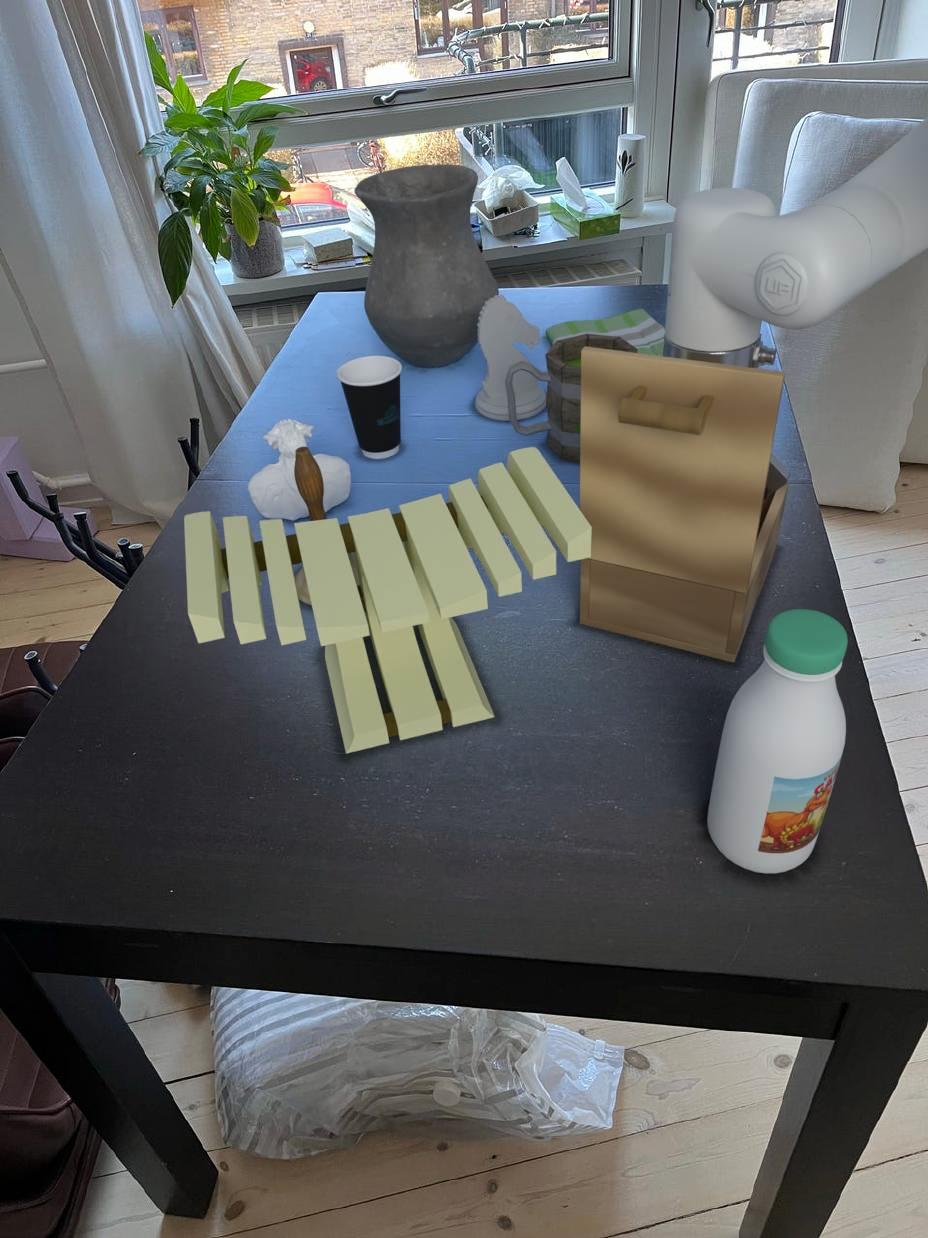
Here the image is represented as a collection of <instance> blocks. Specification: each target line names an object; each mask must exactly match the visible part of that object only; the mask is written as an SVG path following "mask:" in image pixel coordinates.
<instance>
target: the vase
mask: <svg viewBox="0 0 928 1238" xmlns="http://www.w3.org/2000/svg"><path fill="white" fill-rule="evenodd" d="M478 183H479V176H478V173H477V172H476V171H475V169H473V168H470V167H468V166H465V165H460V164H452V163H445V164H444V163H443V164H422V165H421V164H420V165H410V166H402V167H399V168H395V169H389V170H385V171H381V172H378V173H375V174H372V175H369V176H367V177H365V178H363V179H362V180H360V181H359V182H358V183H357V185H356V186H355V188H354V194H355V196H356V197H357V198H358V200H360V201H361V203H362V204H363V205H364V206H365V207H366V209H367V210H368V211H369V213H370V215H371V216H372V219H373V223H374V243H373V250H372V251H373V252H372V257H371V263H370V267H369V271H368V276H367V281H366V286H365V292H364V300H363V306H364V312H365V314H366V317H367V319H368V320H367V321H368V322H369V324H370V326H371V328H372V330H374V332H375V334H376V335H377V337H378V338H379V339H380V340H381V341H382V343H383V344H384V345H385V347H387V349H388V350H389V351H391V352H392V353H393V354H394V355H395V356H397V357H398V358H400V359H402V360H403V361H405V362H406V363H408V364H411V365H413V366H416V367H419V368H420V367H421V368H440V367H446V366H447V365H452V364H454V363H456V362H458V361H460V360H461V359H463V357H465V356H466V355H467V354H468V353H470V352H471V351H472V349H474V348H475V347H476V345H477V344H478V343H479V341H478V335H477V334H478V331H477V330H478V326H477V324H478V322H479V320H478V318H479V316H480V311H481V310H482V307H483V306H484V305H485V301H488V300H489V299H490V298H494V296H495V295H498V296H500V291H499V284H498V281H497V279H495V276H493V274H492V272H491V270H490V268H489V265H488V263H487V261H486V260H485V257H484V255H483V254H482V252H481V250H480V247H479V245H478V242H477V240H476V238H475V235H474V232H473V228H472V222H471V208H472V205H473V199H474V195H475V193H476V189H477V186H478Z"/></svg>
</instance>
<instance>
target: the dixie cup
mask: <svg viewBox="0 0 928 1238" xmlns="http://www.w3.org/2000/svg"><path fill="white" fill-rule="evenodd" d="M402 370H403V365H402V363H401V362H400V361H399V360H397V359H396V358H393V357H392V356H391V357H390V356H385V355H368V356H366V355H365V356H361V357H357V358H353V359H351V360H348V361H346V362H344V363H343V364H341V365H340V366H339V367H338V369H337V370H336V377H337V379H338V380H339V381H340V384H341V387H342V391H343V395H344V397H345V401H346V405H347V408H348V413H349V415H350V419H351V423H352V426H353V430H354V433H355V436H356V441H357V443H358V447H359V448H360V449H361V452H362V454H363V455H364V456H365V457H366V458H369V459H372V460H381V459H388V458H390V457H392V456H394V455H396V454H397V453H398V452H399V450H400V444H401V442H402V438H401V437H402V433H401V432H402V431H401V429H402V427H401V415H402V414H401V373H402Z"/></svg>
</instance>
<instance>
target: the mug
mask: <svg viewBox="0 0 928 1238" xmlns="http://www.w3.org/2000/svg"><path fill="white" fill-rule="evenodd" d="M585 346H586V347H594V348H601V349H609V350H617V351H625V352H633V353H637V350H638V349H637V348H635V347H634V346H632V345H631V344H630V343H628V342H627V341H625V340H624V339H622V338H621V337H616V336H606V335H596V334H584V335H579V336H575V337H571V338H567V339H562V340H558V341H556V342H555V343H554V345H553V346H552V345H551V347H550V348H549V350H548V351H547V352H546V353H545V363H546V370H547V371H541V370H539V369H538V368H537V367H536V366H535V365H534V364H533V363H532V362H530V363H527V362H523V361H520V362H518V363H516V364H514V365H512V366H510V367H509V371H508V374H507V377H506V380H505V385H506V391H507V397H508V412H509V419H510V421H509V422H510V424H511V426H512V428H513V429H514V431H515V433H517V434H520V435H523V436H526V437H527V436H530V435H534V434H537V433H542V432H546V431H547V437H546V446H547V447H548V448H549V450H551V452H553V454H555V456H556V457H558V459H560V461H566V462H572V463H579V464H580V430H581V350H582V349H583V348H584V347H585ZM520 370H524V371H527V372H530V373H531V374H532V375H533V376H534V377H535V378H536V379H538V382H543V383H544V382H545V383H547V386H546V412H547V420H545V421H541V422H535V423H533V424H530V425H528V426H526V425H522V424H520V423H519V420H517V419H516V405H515V395H514V390H513V385H512V380H513V374H514V373H516V372H518V371H520Z"/></svg>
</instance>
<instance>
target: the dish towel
mask: <svg viewBox="0 0 928 1238" xmlns="http://www.w3.org/2000/svg"><path fill="white" fill-rule="evenodd" d="M584 334H596V335H606V336H616V337H621V338H622V339H624V340H625V341H627V342H628V343H630V344H631V345H632V346H634V347H635V348H637V349H638V350H637V353H641V354H648V355H656V356H663V347H664V334H665V326H664V325H662V324H661V323H659V322H658V321H656V320H655V319H654V318H653V317H652V316H651V315H650V314H649V313H648V312H647V311H646V310H645V309H644V308H636V309H632V310H630V311H627V312H623V313H621V314H617V315H612V316H608V317H603V318H601V319H597V320H592V319H591V320H589V319H585V320H569V321H565V322H560V323H557V324H554V325H552V326H550V327H548V328H546V329H545V335H546V338H547V340H548V342H549V343H550V344H551V347H552V346H553V345H554V343H555V342H556V341H558V340H562V339H567V338H571V337H575V336H579V335H584Z"/></svg>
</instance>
